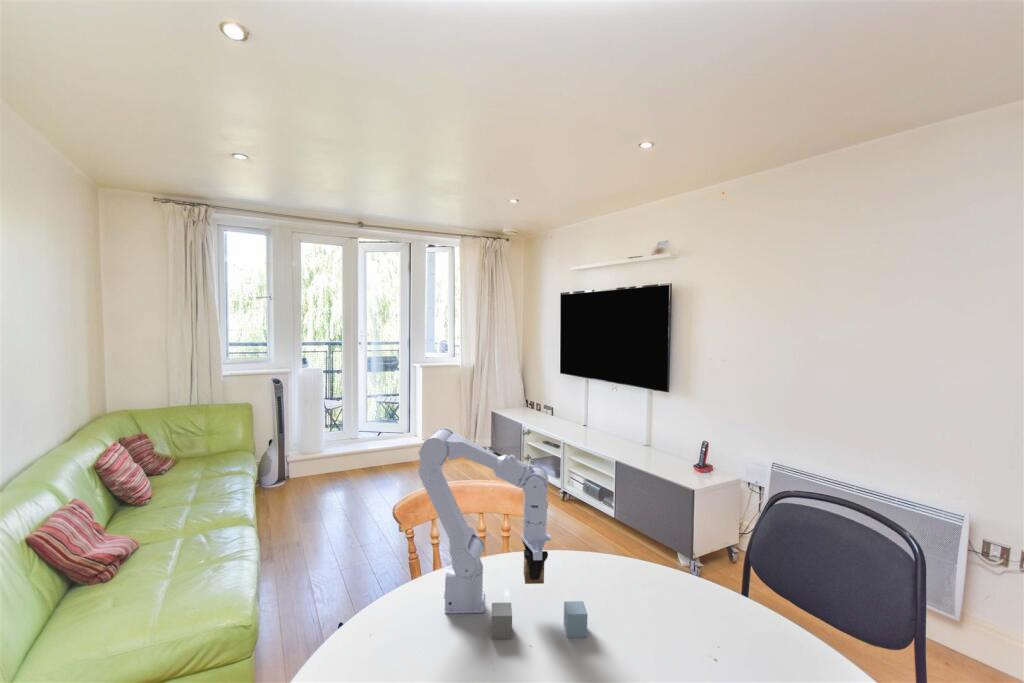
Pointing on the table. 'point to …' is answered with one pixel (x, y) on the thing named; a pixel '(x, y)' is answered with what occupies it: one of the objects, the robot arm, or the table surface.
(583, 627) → the slate block
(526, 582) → the walnut block
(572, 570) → the table surface
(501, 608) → the grey block
